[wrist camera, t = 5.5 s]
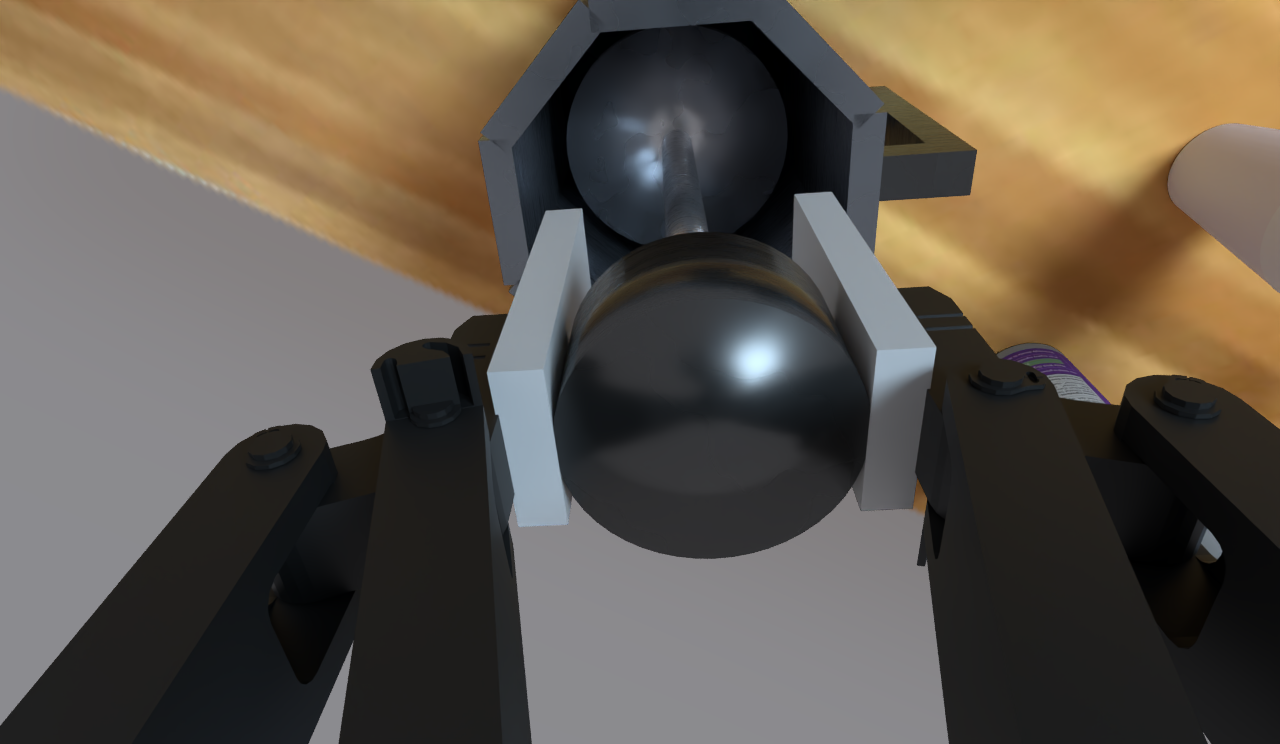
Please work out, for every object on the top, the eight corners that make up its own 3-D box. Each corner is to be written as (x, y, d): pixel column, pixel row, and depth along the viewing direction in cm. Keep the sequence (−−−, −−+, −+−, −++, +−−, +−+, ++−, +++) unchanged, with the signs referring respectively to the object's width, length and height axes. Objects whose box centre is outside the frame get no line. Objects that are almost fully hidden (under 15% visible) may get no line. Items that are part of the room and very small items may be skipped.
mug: (528, -26, 27) (453, 4, 17) (881, -55, 27) (1025, -41, 16) (562, 235, 32) (520, 380, 22) (859, 216, 32) (959, 355, 22)
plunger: (555, 30, 24) (395, 209, 9) (786, 12, 23) (1024, 167, 8) (581, 247, 27) (498, 629, 12) (781, 234, 27) (940, 611, 12)
